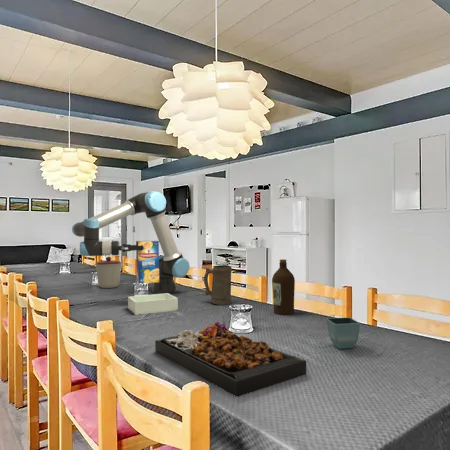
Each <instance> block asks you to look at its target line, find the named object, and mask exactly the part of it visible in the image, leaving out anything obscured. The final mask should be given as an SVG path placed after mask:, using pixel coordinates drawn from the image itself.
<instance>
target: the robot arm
mask: <svg viewBox="0 0 450 450" xmlns="http://www.w3.org/2000/svg"><path fill="white" fill-rule="evenodd" d="M166 205H167V200H166V197H165V195H164V194H163V193H161V192H159V191H153V190H151V191H147V192H146V191H145V192H141V193H137V195H134V196H133V197H130V198H128V199H127V200H125V201H124V203H122V204H120V205H117V206H115V207H112V208H110V209H108V210H106V211H103V212H101V213H99V214H97V215H95V216H92V217H90V218H84V220H83V221H80V222H76V223H75V224H73V225H72V227H71V231H72V233H73V235H75V236H76V237H80V238H81V237H83V241H80V242H79V255H81V256H82V257H99V256H102V257H103V256H104V257H105V258H106V257H107V256H119V255H120V251H122V252H124V253H125V252H131V251H133V252H134V251H135V252H136V250H141V251H142V250H143V249H144V246H143V245H141V246H138V245H136V244H129V243H128V244H125V243H122V245H120V244H119V243H120V242H119V241H118V240H112V241H110V240H103V241H101V240H100V229H102V228H105V227H107V226H109V225H111V224H113V223H115V222H117V221H119V220H121V219H125V218H127V217H129V216H135V215H136V214H141V213H144V214H145V216H146V218H147V219H149V220H150V222H151V224H152V227H153V229H154V232H155V235H156V238H157V241H159V246H160V248H161V250H162V253H163V255H159V282H154V283H153V284H152V285H153V286H152V289H151V290H152V291H151V293H152V294H164V293H168V294H173V293H174V294H175V293H176V292H177V291H178V290H177V285H176V283H175V279H174V278H177V279H178V278H180V279H181V278H184V277H185V276H187V275H188V272H189V270H190V262H189V260H188V259H186V258H184V256H183V253H182V252H181V251H179V250H178V247H177V244H176V242H175V239H174V237H173V234H172V231H171V228H170V226H169V223H168V220H167V216H166V215H165V213H166V212H167V210H166Z"/></svg>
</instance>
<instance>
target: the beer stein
mask: <svg viewBox="0 0 450 450" xmlns="http://www.w3.org/2000/svg"><path fill="white" fill-rule="evenodd" d="M232 271H233V268H232V266H230V265H226V264H225V265H220V264H219V265H214V266H213V269H211V268H210V267H208V268H207V267H206V268H205V273H204V275H203V282H204V283H203V284H204V287H205V292H204V295H205V296H211V300H210V303H212V304H214V305H219V306H221V305H223V306H225V305H226V306H227V305H230V304H231V303H232V295H231V294H232ZM210 274H212V282H211V283H212V284H211V290H210V286H209V281H208V279H209V278H208V277H209V275H210Z"/></svg>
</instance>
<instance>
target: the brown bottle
mask: <svg viewBox="0 0 450 450" xmlns="http://www.w3.org/2000/svg"><path fill="white" fill-rule="evenodd" d="M278 264H279V268H278V269H277V270H276V271H275V272H274V274H273V275H272V279H271V284H272V287H271V288H272V300H273V303H272V304H273V313H274V314H276V315H281V316H283V315H284V316H288V315H293V314H294V313H295V289H296V288H295V285H296V279H295V276H294V274H293V273H292V272H291V271H290V269H288V265H287V264H288V263H287V259H283V258H282V259H279V263H278Z"/></svg>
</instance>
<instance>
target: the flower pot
mask: <svg viewBox="0 0 450 450" xmlns="http://www.w3.org/2000/svg"><path fill="white" fill-rule="evenodd" d="M360 324H361V323H360V322H359V321H357V320H356V319H354V318H352V317H331V318H328V317H327V318H326V328H327V333H328V336H329V339H330V341H331V343H332V344H333V346H335V347H336V348H337V349H338V350H343V349H354V348H355V346H356V344H357V342H358V340H359V337H360V336H359V334H360V327H361V325H360Z"/></svg>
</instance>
